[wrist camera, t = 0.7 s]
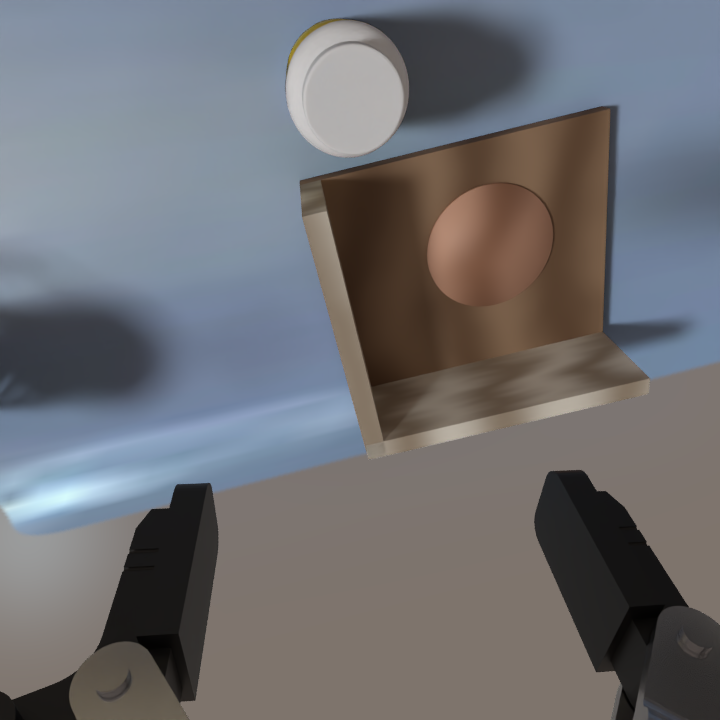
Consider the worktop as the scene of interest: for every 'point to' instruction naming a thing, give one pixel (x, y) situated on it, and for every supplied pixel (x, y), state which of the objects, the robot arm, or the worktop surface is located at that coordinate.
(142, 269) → the worktop surface
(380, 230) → the wooden l-shaped piece
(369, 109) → the supplement bottle
